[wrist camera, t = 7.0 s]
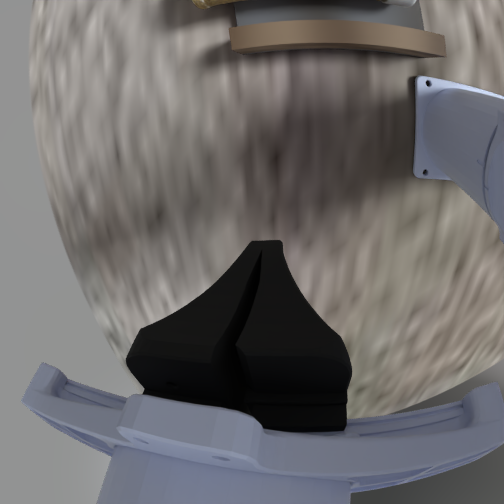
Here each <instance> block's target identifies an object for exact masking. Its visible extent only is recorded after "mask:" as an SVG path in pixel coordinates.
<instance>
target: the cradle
mask: <svg viewBox="0 0 504 504" xmlns="http://www.w3.org/2000/svg"><path fill="white" fill-rule="evenodd" d="M234 8H235V14H236V20H237V27H231V28H229V34H230V40H231V47H232V50H233V51H235V52H238V53H240V54H243V55H245V54H252V53H261V52H270V51H282V50H299V49H351V50H367V51H379V52H388V53H396V54H403V55H410V56H416V57H422V58H432V57H446V47H445V38H444V35H440V34H436V33H432V32H428V31H424V26H423V20H422V14H421V8H420V3H419V0H416V2H415V3H414V4H413V5H412V6H410V7H403V6H398V5H392V4H386V3H383V2H381V1H377V0H245V1H237V2H234Z"/></svg>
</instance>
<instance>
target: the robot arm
mask: <svg viewBox="0 0 504 504" xmlns="http://www.w3.org/2000/svg"><path fill="white" fill-rule="evenodd" d="M427 80H428V81H429V83H430V84H429V86H427V85H426V81H427ZM415 97H416V126H415V150H414V165H413V173H414V175H415V176H416V177H417V178H426V179H441V180H452V181H454V182H455V183H456V184H457V185H458V186H459V187H460V188H461V189H462V190H464V191H465V192H466V193H467V194H468V195H469V196H470V197H471V198H472V199H473V200H474V201H475V202H476V203H477V204H478V205H479V206H480V207H481V208H482V209H483V210H484V211H485V212H486V213H487V214H488V215H489V216H490V217H491V218H492V219H493V220H494V221H495V223H496V224H497V226H498V228H499V231H500V240H501V241H502V242H503V244H504V96H501V95H498V94H495V93H492V92H489V91H485V90H482V89H479V88H475V87H471V86H468V85H464V84H460V83H455V82H451V81H446V80H442V79H437V78H431V77H426V76H417V77H416V79H415ZM424 170H427V171H426V173H425V174H423V171H424ZM126 364H127V366H128V368H129V370H130V371H131V373H132V374H133V375H134V376H135V378H136V379H137V380H138V381H139V382H140V384H141V385H142V386H143V387H144V388H145V389H144V392H143V394H133V395H131V396H130V397H128V398H125V397H122V396H118V395H115V394H111V393H108V392H105V391H102V390H98V389H95V388H92V387H89V386H86V385H83V384H81V383H78V382H75V381H72V380H70V379H67V377H66V376H65V375H64V374H63V372H61V371H60V370H59V369H58V368H56V367H53V366H51V365H48V364H46V363H41V365H40V366H39V368H38V370H37V372H36V373H35V375H34V377H33V379H32V381H31V382H30V384H29V386H28V388H27V390H26V392H25V394H24V396H23V398H22V400H21V401H22V403H23V404H24V405H25V406H26V407H28V408H29V409H30V410H31V411H33V412H34V413H35V414H36V415H38V416H39V417H40V418H42V419H43V420H44V421H46V422H47V423H48V424H50V425H51V426H53V427H54V428H56V429H58V430H59V431H61V432H63V433H65V434H67V435H69V436H70V437H72V438H74V439H76V440H78V441H80V442H82V443H84V444H86V445H88V446H90V447H92V448H94V449H96V450H98V451H100V452H102V453H105V454H107V455H109V456H111V457H112V458H111V461H110V464H109V467H108V470H107V473H106V476H105V479H104V482H103V485H102V488H101V491H100V494H99V497H98V501H97V504H350V493H352V492H360V491H367V490H373V489H378V488H383V487H389V486H394V485H398V484H402V483H407V482H410V481H414V480H418V479H422V478H425V477H429V476H432V475H435V474H438V473H441V472H445V471H447V470H451V469H453V468H456V467H459V466H462V465H465V464H467V463H470V462H472V461H475V460H477V459H479V458H481V457H482V456H484V455H486V454H487V453H489V452H491V451H492V450H494V449H496V448H497V447H499V446H500V445H502V444H503V443H504V402H503V398H502V395H501V391H500V388H499V385H498V382H493V383H490V384H487V385H483V386H480V387H477V388H475V389H473V390H471V391H470V392H469V393H467V394H466V395H465V397H464V398H463V399H462V400H460V401H457V402H453V403H449V404H445V405H441V406H436V407H431V408H427V409H422V410H416V411H411V412H405V413H399V414H392V415H384V416H376V417H367V418H356V419H347V410H346V404H347V400H348V399H347V389H348V386H349V383H350V380H351V377H352V366H351V362H350V358H349V355H348V352H347V349H346V347H345V345H344V342H343V340H342V338H341V336H339V335H338V334H337V333H336V332H335V331H334V330H333V329H331V328H330V327H329V326H328V325H327V324H326V323H325V322H324V321H323V320H322V318H321V317H320V316H319V315H318V314H317V313H316V312H315V310H314V309H313V308H312V307H311V305H310V304H309V303H308V302H307V300H306V299H305V297H304V296H303V294H302V293H301V291H300V290H299V288H298V286H297V285H296V283H295V281H294V279H293V277H292V275H291V273H290V271H289V268H288V266H287V263H286V260H285V257H284V254H283V243H282V242H281V241H280V240H266V241H251V242H250V243H249V245H248V246H247V247H246V248H245V250H244V251H243V252H242V253H241V255H240V256H239V257H238V258H237V260H236V261H235V262H234V263H233V264H232V265H231V267H230V268H229V269H228V270H227V271H226V272H225V273H224V274H223V275H222V276H221V277H220V278H219V279H218V280H217V281H216V282H215V283H214V284H213V285H212V286H211V287H210V288H209V289H207V290H206V291H205V292H204V293H202V294H201V295H200V296H199V297H197V298H196V299H194V300H193V301H191V302H190V303H189V304H187V305H186V306H184V307H183V308H181V309H179V310H178V311H176V312H174V313H173V314H171V315H169V316H167V317H165V318H163V319H161V320H159V321H157V322H155V323H153V324H151V325H148V326H146V327H144V328H141V329H140V331H139V333H138V334H137V336H136V338H135V340H134V342H133V344H132V346H131V349H130V351H129V353H128V355H127V358H126Z"/></svg>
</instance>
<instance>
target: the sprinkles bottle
mask: <svg viewBox="0 0 504 504" xmlns="http://www.w3.org/2000/svg"><path fill="white" fill-rule="evenodd" d="M237 1H245V0H192V2H193V3H194V4H195V5H196V6H197V7H198V8H200V9H208V8H210V7H212V6H215V5H220V4H226V3H231V2H237ZM377 1H381V2H383V3H386V4H392V5H398V6H403V7H410V6H412V5H413V4H414V3H415V2H416V0H377Z"/></svg>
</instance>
